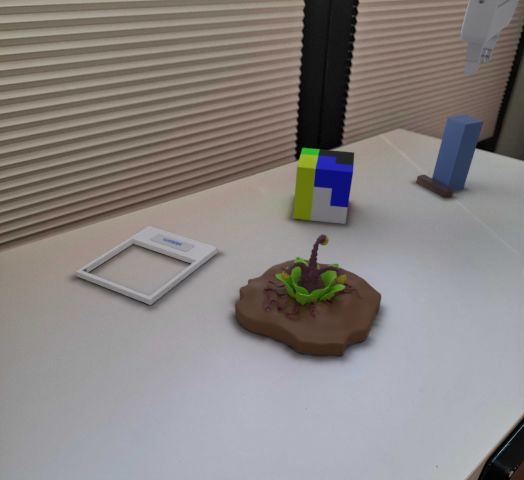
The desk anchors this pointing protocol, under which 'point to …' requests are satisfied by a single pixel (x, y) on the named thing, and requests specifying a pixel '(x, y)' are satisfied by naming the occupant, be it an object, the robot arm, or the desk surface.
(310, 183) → the puzzle toy
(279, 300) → the plant
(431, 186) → the bar
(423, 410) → the desk surface
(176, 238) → the photo frame
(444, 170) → the toy block
